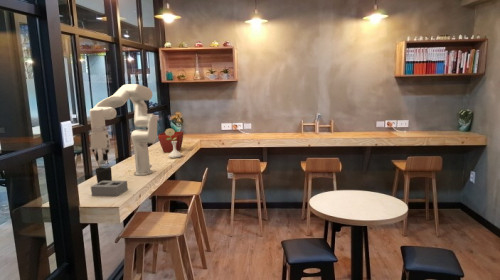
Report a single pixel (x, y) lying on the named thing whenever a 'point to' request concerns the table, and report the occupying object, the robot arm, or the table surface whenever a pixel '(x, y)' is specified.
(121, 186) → the hole block
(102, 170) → the pen holder
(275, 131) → the table surface
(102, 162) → the steel pin
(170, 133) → the flower in vase
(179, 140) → the plant pot
